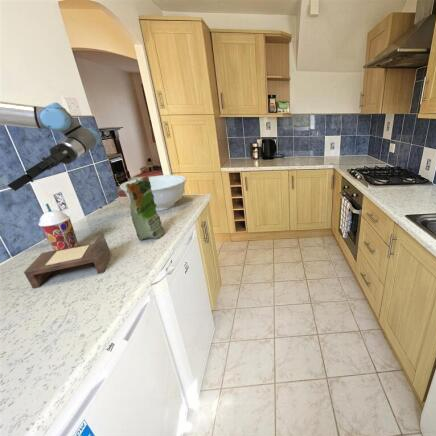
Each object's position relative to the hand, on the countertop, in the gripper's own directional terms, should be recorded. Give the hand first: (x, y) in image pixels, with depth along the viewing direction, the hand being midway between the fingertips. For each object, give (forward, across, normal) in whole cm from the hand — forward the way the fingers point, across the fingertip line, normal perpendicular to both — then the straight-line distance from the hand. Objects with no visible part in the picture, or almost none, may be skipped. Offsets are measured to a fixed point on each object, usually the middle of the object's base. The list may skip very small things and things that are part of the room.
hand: (20, 181), depth 83 cm
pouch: (-4, -16, -41) cm, 44 cm away
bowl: (-37, +6, -44) cm, 58 cm away
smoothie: (+11, +3, -27) cm, 29 cm away
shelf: (+20, -10, -29) cm, 36 cm away
